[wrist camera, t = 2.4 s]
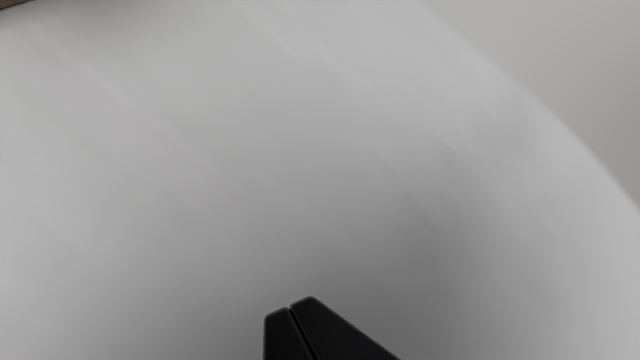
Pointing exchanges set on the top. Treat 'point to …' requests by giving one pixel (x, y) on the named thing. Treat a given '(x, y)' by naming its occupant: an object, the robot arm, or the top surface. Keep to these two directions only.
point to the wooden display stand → (9, 2)
